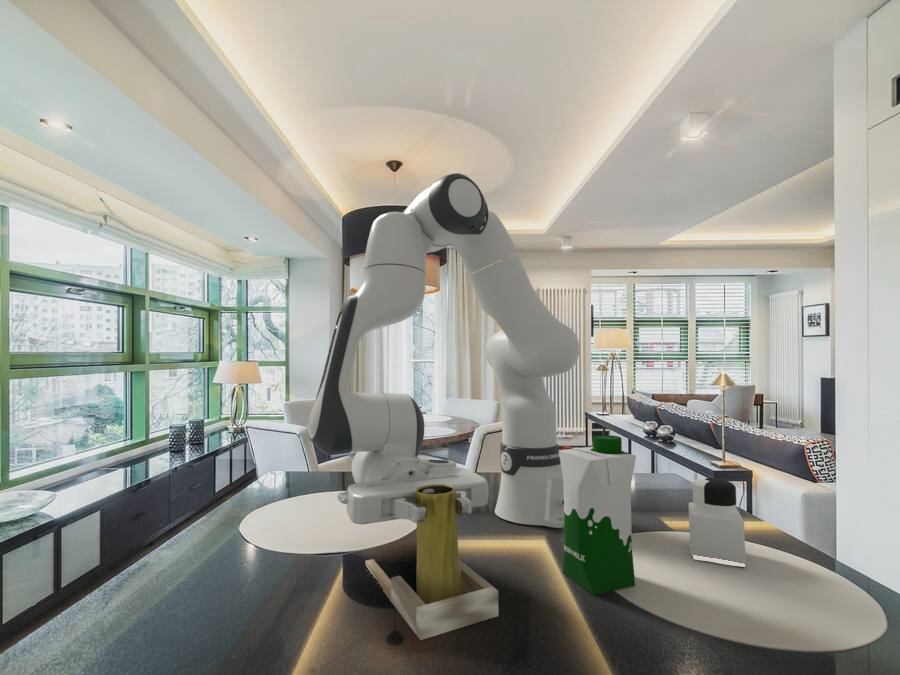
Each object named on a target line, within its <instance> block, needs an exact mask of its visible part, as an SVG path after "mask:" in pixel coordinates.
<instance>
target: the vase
mask: <svg viewBox="0 0 900 675" xmlns="http://www.w3.org/2000/svg"><path fill="white" fill-rule="evenodd" d="M425 489H433V490H434V493H428V494H424V493H423V490H425ZM416 504H422V506H425V508H426V514H425V516H426V520H425V521H423V522H417V523H416V594H417V595H418V596H419V597H420V599H421V600H422V601H423V602H424V603H425V604H426V605H427V604H430V603H434V602H437V601H441V600H445V599H448V598H452V597H456V596H459V595H463V590H462V580H461V570H460V562H461V561H460V554H459V534H458V533H459V532H458V528H459V527H458V514H457V504H456V489H455V488H454V487H453V486H450V485H444V484H432V485H426V486H422V487H419V488H417V489H416Z"/></svg>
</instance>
